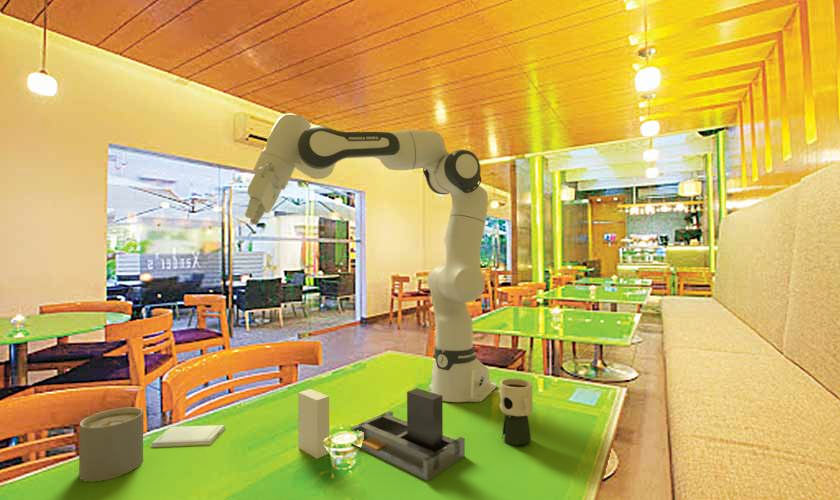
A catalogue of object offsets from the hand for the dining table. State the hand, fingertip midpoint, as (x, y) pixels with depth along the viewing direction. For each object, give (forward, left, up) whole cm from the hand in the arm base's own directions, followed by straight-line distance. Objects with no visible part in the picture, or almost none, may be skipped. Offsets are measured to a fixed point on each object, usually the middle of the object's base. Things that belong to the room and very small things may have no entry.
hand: (250, 220), depth 98 cm
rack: (-15, +38, -50) cm, 65 cm away
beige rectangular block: (-2, +23, -51) cm, 56 cm away
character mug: (-34, +54, -51) cm, 82 cm away
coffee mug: (+27, -3, -51) cm, 57 cm away
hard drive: (+13, -4, -51) cm, 53 cm away
